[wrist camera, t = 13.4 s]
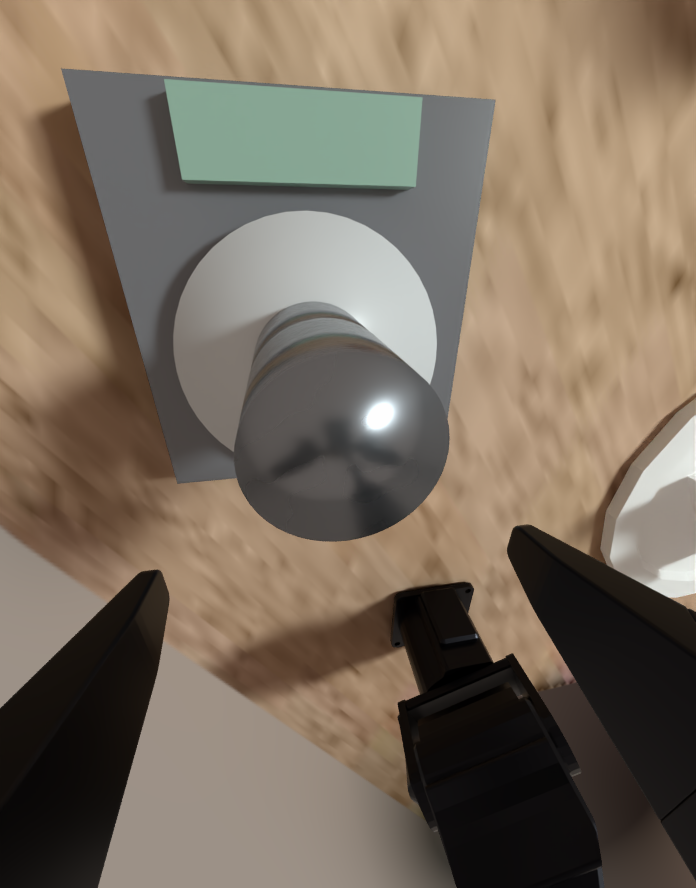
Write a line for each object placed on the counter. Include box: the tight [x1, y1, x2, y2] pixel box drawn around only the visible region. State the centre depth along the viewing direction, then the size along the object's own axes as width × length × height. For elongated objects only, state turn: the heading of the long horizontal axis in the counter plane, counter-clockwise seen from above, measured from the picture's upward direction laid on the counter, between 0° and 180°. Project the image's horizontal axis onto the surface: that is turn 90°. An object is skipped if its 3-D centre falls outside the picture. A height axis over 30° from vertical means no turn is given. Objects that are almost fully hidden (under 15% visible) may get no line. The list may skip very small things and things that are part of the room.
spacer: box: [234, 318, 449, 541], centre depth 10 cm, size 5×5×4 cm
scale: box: [61, 69, 495, 484], centre depth 16 cm, size 15×14×3 cm
